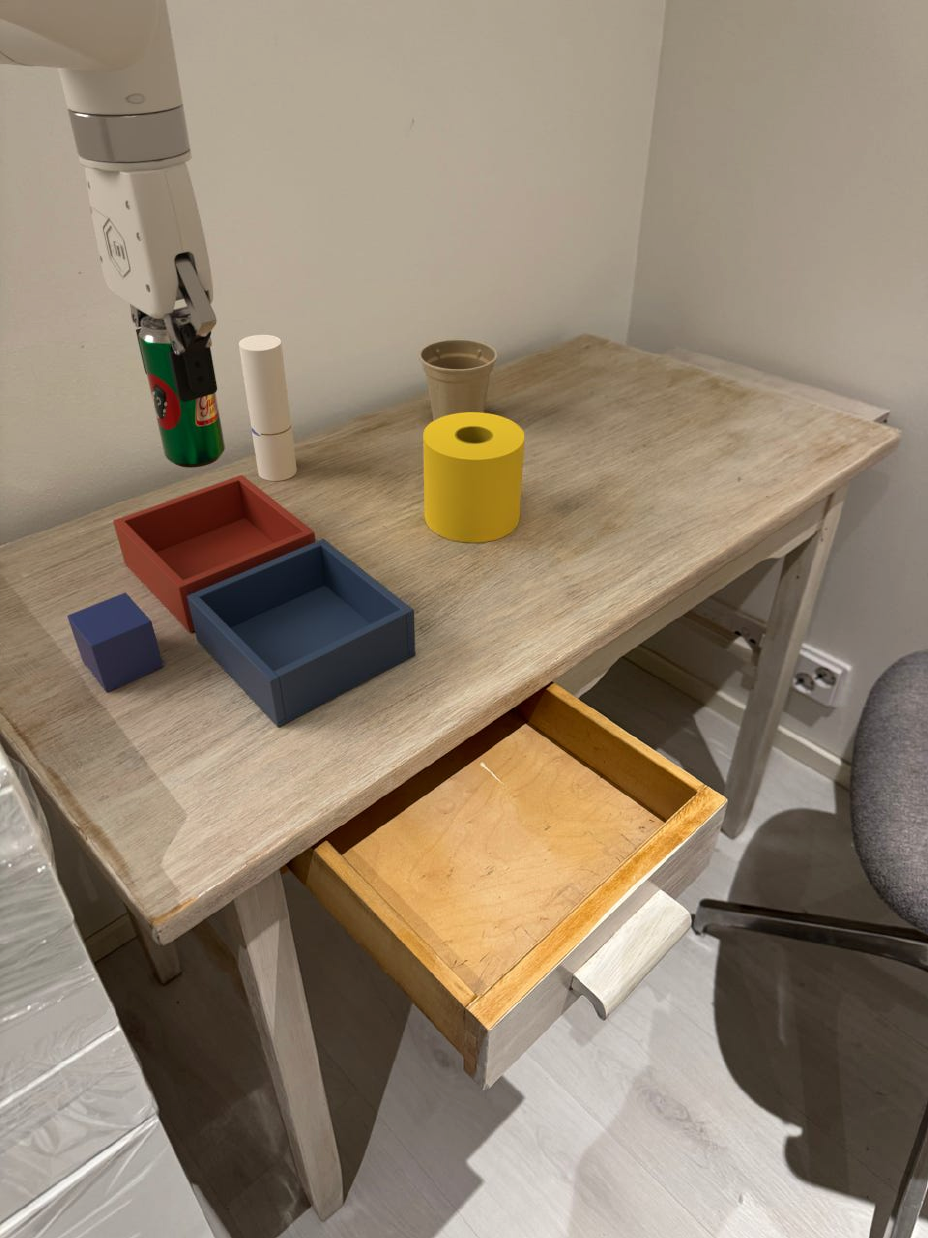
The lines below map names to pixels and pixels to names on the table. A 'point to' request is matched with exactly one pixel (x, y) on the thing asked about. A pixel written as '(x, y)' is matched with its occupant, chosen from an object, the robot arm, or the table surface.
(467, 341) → the flower pot
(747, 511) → the table surface
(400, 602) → the blue bin
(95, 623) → the blue block
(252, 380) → the tube
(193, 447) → the soda can
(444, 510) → the tape roll
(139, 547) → the red bin
